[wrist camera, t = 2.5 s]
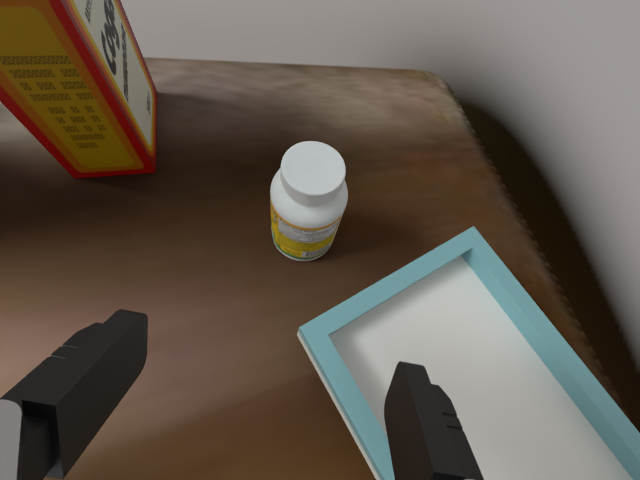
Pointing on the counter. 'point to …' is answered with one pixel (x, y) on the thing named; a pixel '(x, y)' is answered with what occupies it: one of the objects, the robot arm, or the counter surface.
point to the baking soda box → (79, 84)
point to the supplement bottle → (307, 200)
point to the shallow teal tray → (472, 369)
